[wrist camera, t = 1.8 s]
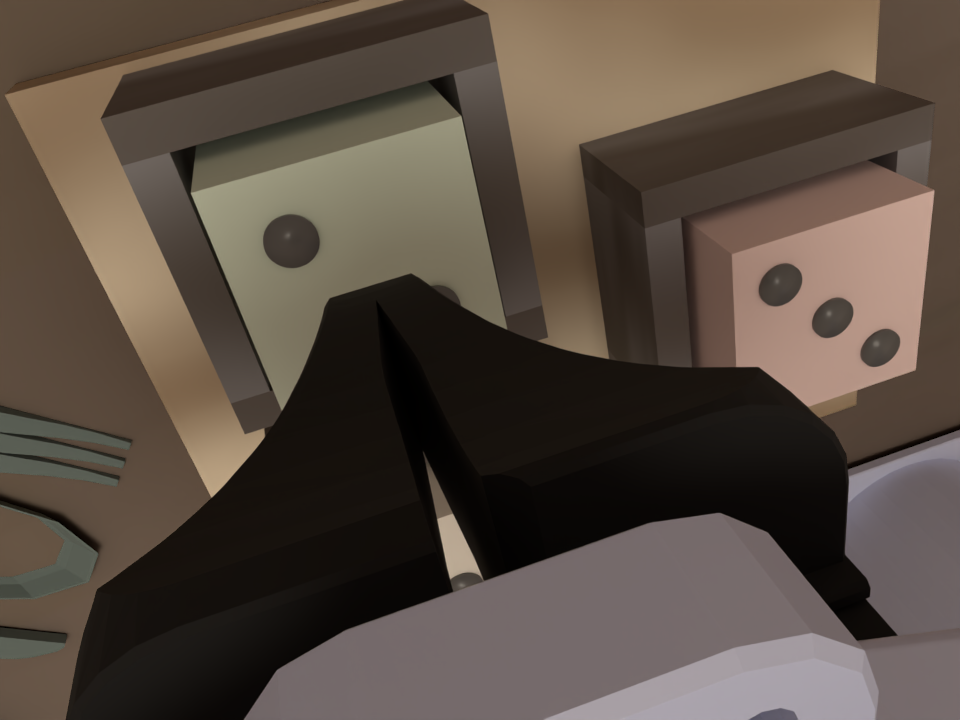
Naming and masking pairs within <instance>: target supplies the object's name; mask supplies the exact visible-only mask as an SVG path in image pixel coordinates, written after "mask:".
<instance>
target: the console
mask: <svg viewBox="0 0 960 720" xmlns="http://www.w3.org/2000/svg"><path fill="white" fill-rule="evenodd" d="M879 8H880V0H331V1H328V2H324V3H320V4H316V5H312V6H309V7H305V8H301V9H297V10H293V11H290V12H286V13H282V14H278V15H275V16H271V17H267V18H263V19H259V20H256V21H252V22H248V23H244V24H240V25H237V26H233V27H229V28H225V29H222V30H218V31H214V32H210V33H206V34H203V35H199V36H195V37H191V38H187V39H184V40H180V41H176V42H172V43H169V44H165V45H161V46H157V47H153V48H150V49H146V50H142V51H138V52H134V53H131V54H127V55H123V56H119V57H116V58H112V59H108V60H104V61H100V62H97V63H93V64H89V65H85V66H81V67H78V68H74V69H70V70H66V71H63V72H59V73H55V74H51V75H47V76H44V77H40V78H36V79H32V80H28V81H25V82H21V83H17V84H15V85H14V86H13V87H12V88H11V89H10V90H9V91H8V92H7V93H6V94H5V96H6V98H7V100H8V102H9V104H10V106H11V108H12V110H13V112H14V114H15V116H16V118H17V120H18V122H19V124H20V126H21V127H22V129H23V131H24V133H25V135H26V137H27V139H28V141H29V143H30V145H31V147H32V149H33V151H34V153H35V155H36V157H37V159H38V161H39V163H40V164H41V166H42V168H43V170H44V172H45V174H46V176H47V178H48V180H49V182H50V184H51V186H52V188H53V190H54V192H55V194H56V196H57V198H58V200H59V201H60V203H61V205H62V207H63V209H64V211H65V213H66V215H67V217H68V219H69V221H70V223H71V225H72V227H73V229H74V231H75V233H76V235H77V237H78V238H79V240H80V242H81V244H82V246H83V248H84V250H85V252H86V254H87V256H88V258H89V260H90V262H91V264H92V266H93V268H94V270H95V272H96V273H97V275H98V277H99V279H100V281H101V283H102V285H103V287H104V289H105V291H106V293H107V295H108V297H109V299H110V301H111V303H112V305H113V307H114V309H115V310H116V312H117V314H118V316H119V318H120V320H121V322H122V324H123V326H124V328H125V330H126V332H127V334H128V336H129V338H130V340H131V342H132V344H133V346H134V347H135V349H136V351H137V353H138V355H139V357H140V359H141V361H142V363H143V365H144V367H145V369H146V371H147V373H148V375H149V377H150V379H151V381H152V383H153V384H154V386H155V388H156V390H157V392H158V394H159V396H160V398H161V400H162V402H163V404H164V406H165V408H166V410H167V412H168V414H169V416H170V418H171V420H172V421H173V423H174V425H175V427H176V429H177V431H178V433H179V435H180V437H181V439H182V441H183V443H184V445H185V447H186V449H187V451H188V453H189V455H190V456H191V458H192V460H193V462H194V464H195V466H196V468H197V470H198V472H199V474H200V476H201V478H202V480H203V482H204V484H205V486H206V488H207V490H208V492H209V493H210V495H211V497H213V496H214V495H215V494H216V493H217V492H218V491H219V490H220V489H221V488H222V487H223V486H224V485H225V484H226V482H227V481H228V480H229V479H230V478H231V477H232V476H233V474H234V473H235V472H236V471H237V470H238V469H239V468H240V466H241V465H242V464H243V463H244V462H245V461H246V460H247V458H248V457H249V456H250V455H251V454H252V453H253V452H254V450H255V449H256V448H257V447H258V445H259V444H260V443H261V442H262V440H263V439H264V437H265V436H266V435H267V433H268V432H269V430H270V429H271V427H272V426H273V425H274V423H275V422H276V420H277V418H278V417H279V415H280V413H281V412H282V410H281V408H280V405H279V403H278V400H277V398H276V396H275V393H274V391H273V389H272V386H271V384H270V381H269V379H268V377H267V374H266V372H265V369H264V367H263V365H262V362H261V360H260V357H259V355H258V353H257V350H256V348H255V345H254V343H253V341H252V338H251V336H250V334H249V331H248V329H247V326H246V324H245V322H244V319H243V317H242V314H241V312H240V310H239V307H238V305H237V302H236V300H235V298H234V295H233V293H232V290H231V288H230V286H229V283H228V281H227V279H226V276H225V274H224V271H223V269H222V267H221V264H220V262H219V259H218V257H217V255H216V252H215V250H214V247H213V245H212V243H211V240H210V238H209V236H208V233H207V231H206V228H205V226H204V224H203V221H202V219H201V216H200V214H199V212H198V209H197V207H196V204H195V202H194V200H193V197H192V195H191V187H192V178H193V169H194V161H195V152H196V145H199V144H202V143H206V142H209V141H213V140H217V139H220V138H224V137H227V136H231V135H235V134H238V133H242V132H245V131H249V130H252V129H256V128H260V127H263V126H267V125H270V124H274V123H278V122H281V121H285V120H288V119H292V118H296V117H299V116H303V115H306V114H310V113H313V112H317V111H321V110H324V109H328V108H331V107H335V106H339V105H342V104H346V103H349V102H353V101H356V100H360V99H364V98H367V97H371V96H374V95H378V94H382V93H385V92H389V91H392V90H396V89H400V88H403V87H407V86H410V85H414V84H417V83H421V82H425V81H428V82H429V83H430V84H431V85H432V86H433V87H434V88H435V89H436V90H437V91H438V92H439V93H440V94H441V96H442V97H443V98H444V99H445V100H446V101H447V102H448V103H449V104H450V105H451V106H452V107H453V108H454V109H455V110H456V111H457V112H458V113H459V114H460V115H461V117H462V122H463V127H464V131H465V136H466V140H467V145H468V150H469V154H470V159H471V164H472V168H473V173H474V177H475V182H476V187H477V191H478V196H479V201H480V205H481V210H482V214H483V219H484V224H485V228H486V233H487V238H488V242H489V247H490V251H491V256H492V261H493V265H494V270H495V275H496V279H497V284H498V288H499V293H500V298H501V302H502V307H503V312H504V316H505V321H506V326H507V330H509V331H511V332H514V333H516V334H519V335H521V336H524V337H526V338H529V339H532V340H535V341H538V342H542V343H545V344H548V345H551V346H554V347H557V348H561V349H564V350H568V351H572V352H576V353H580V354H585V355H591V356H596V357H601V358H606V359H611V360H617V361H624V362H631V363H639V364H649V365H662V366H674V367H692V360H691V346H690V333H689V319H688V306H687V292H686V279H685V266H684V252H683V239H682V225H681V217H684V216H688V215H691V214H694V213H697V212H700V211H704V210H707V209H710V208H713V207H717V206H720V205H723V204H726V203H730V202H733V201H736V200H739V199H743V198H746V197H749V196H752V195H756V194H759V193H762V192H765V191H768V190H772V189H775V188H778V187H781V186H785V185H788V184H791V183H794V182H798V181H801V180H804V179H807V178H811V177H814V176H817V175H820V174H823V173H827V172H830V171H833V170H836V169H840V168H843V167H846V166H849V165H853V164H856V163H859V162H862V161H866V160H868V161H870V162H873V163H875V164H877V165H879V166H882V167H884V168H886V169H888V170H891V171H893V172H895V173H897V174H899V175H902V176H904V177H906V178H908V179H911V180H913V181H915V182H917V183H920V184H922V185H924V186H926V187H927V180H928V170H929V160H930V149H931V139H932V129H933V119H934V109H935V103H933V102H930V101H927V100H924V99H921V98H918V97H915V96H912V95H908V94H905V93H902V92H899V91H896V90H893V89H890V88H887V87H884V86H881V85H878V84H875V76H876V59H877V42H878V25H879ZM856 398H857V390H856V391H853V392H850V393H847V394H844V395H841V396H838V397H835V398H833V399H830V400H827V401H824V402H821V403H818V404H815V405H812V406H809V407H808V408H809V409H810V410H811V411H812V412H813V413H814V414H815V415H817V416H818V417H819V418H820V417H823V416H826V415H829V414H831V413H834V412H837V411H840V410H843V409H846V408H849V407H852V406H855V405H856ZM423 453H424V452H423ZM424 458H425V463H429V462H428V460H427V458H426V456H425V454H424Z"/></svg>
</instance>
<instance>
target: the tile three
mask: <svg viewBox="0 0 960 720" xmlns="http://www.w3.org/2000/svg"><path fill="white" fill-rule="evenodd" d="M933 199H934V190H933V189H931V188H928V187H926V186H924V185H922V184H920V183H917V182H915V181H913V180H911V179H908V178H906V177H904V176H902V175H899V174H897V173H895V172H893V171H891V170H888V169H886V168H884V167H882V166H879V165H877V164H875V163H873V162H870V161H868V160H866V161H862V162H859V163H856V164H853V165H849V166H846V167H843V168H840V169H836V170H833V171H830V172H827V173H823V174H820V175H817V176H814V177H811V178H807V179H804V180H801V181H798V182H794V183H791V184H788V185H785V186H781V187H778V188H775V189H772V190H768V191H765V192H762V193H759V194H756V195H752V196H749V197H746V198H743V199H739V200H736V201H733V202H730V203H726V204H723V205H720V206H717V207H713V208H710V209H707V210H704V211H700V212H697V213H694V214H691V215H688V216H684V217H681V225H682V239H683V252H684V266H685V279H686V292H687V306H688V319H689V333H690V346H691V360H692V367H760V368H761V369H762V370H763V371H765V372H766V373H767V374H769V375H770V376H771V377H773V378H774V379H775V380H776V381H778V382H779V383H780V384H782V385H783V386H784V387H786V388H787V389H788V390H789V391H791V392H792V393H793V394H794V395H795V396H796V397H797V398H798V399H800V400H801V401H802V402H803V403H804V404H805V405H806V406H807V407H809V406H812V405H815V404H818V403H821V402H824V401H827V400H830V399H833V398H835V397H838V396H841V395H844V394H847V393H850V392H853V391H856V390H859V389H862V388H865V387H868V386H870V385H873V384H876V383H879V382H882V381H885V380H888V379H891V378H894V377H897V376H900V375H903V374H906V373H908V372H911V371H914V370H916V361H917V351H918V342H919V332H920V323H921V313H922V304H923V294H924V284H925V275H926V265H927V256H928V246H929V237H930V227H931V218H932V208H933Z"/></svg>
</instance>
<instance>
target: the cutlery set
mask: <svg viewBox="0 0 960 720" xmlns="http://www.w3.org/2000/svg"><path fill="white" fill-rule="evenodd" d="M38 436H44V437H55V438H63V439H70V440H78V441H85V442H92V443H97V444H102V445H107V446H112V447H117V448H122V449H127V450H129V448H130V445H131V441H132V440H130V439H126V438H122V437H118V436H114V435H110V434H107V433H103V432H99V431H95V430H91V429H87V428H84V427H80V426H76V425H72V424H68V423H64V422H60V421H57V420H53V419H49V418H45V417H41V416H37V415H33V414H30V413H26V412H22V411H18V410H14V409H10V408H6V407H3V406H0V472H3V473H15V474H29V475H43V476H53V477H61V478H69V479H77V480H84V481H90V482H95V483H100V484H105V485H111V486H116V487H117V484H118V481H119V476H116V475H112V474H108V473H104V472H99V471H95V470H91V469H87V468H83V467H79V466H74V465H70V464H66V463H62V462H58V461H54V460H49V459H45V458H41V457H37V456H47V457H57V458H64V459H72V460H79V461H87V462H93V463H98V464H103V465H108V466H113V467H118V468H123V466H124V463H125V458H122V457H118V456H114V455H110V454H106V453H102V452H98V451H94V450H90V449H86V448H82V447H78V446H74V445H70V444H66V443H62V442H58V441H54V440H50V439H46V438H42V437H38ZM33 455H35V456H33ZM0 507H3V508H7V509H10V510H13V511H17V512H20V513H23V514H27V515H30V516H33V517H37V518H39V519H40V520H41V521H42V522H43V523H44V524H46V525H47V526H48V527H49V528H50V529H52V530H53V531H54V532H55V533H56V534H58V535H59V536H60V537H61V538H62V539H63V540H65V541H64V543H63V546H62V548H61V551H60V553H59V556H58V558H57V561H56V563H55V564H54V565H51V566H47V567H44V568H41V569H38V570H34V571H31V572H27V573H24V574H21V575H17V576H14V577H0V599H36V598H39V597H43V596H46V595H49V594H52V593H55V592H58V591H62V590H65V589H68V588H71V587H74V586H78V585H81V584H84V583H87V582H89V580H90V577H91V574H92V571H93V568H94V565H95V562H96V559H97V556H98V553H97V552H96V551H95V550H93V549H92V548H91V547H89V546H88V545H87V544H86V543H84V542H83V541H82V540H81V539H79V538H78V537H77V536H75V535H74V534H73V533H72V532H70V531H69V530H68V529H66V528H65V527H64V526H63V525H61V524H60V523H59V522H57V521H55V520H53V519H51V518H49V517H47V516H45V515H44V514H41V513H38V512H35V511H31V510H28V509H25V508H22V507H19V506H16V505H13V504H9V503H6V502H3V501H0ZM66 637H67V634H58V633H48V632H39V631H29V630H19V629H10V628H0V659H21V658H30V657H36V656H40V655H44V654H48V653H53V652H57V651H58V650H60V649H62V648H64V646H65V642H66Z"/></svg>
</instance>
